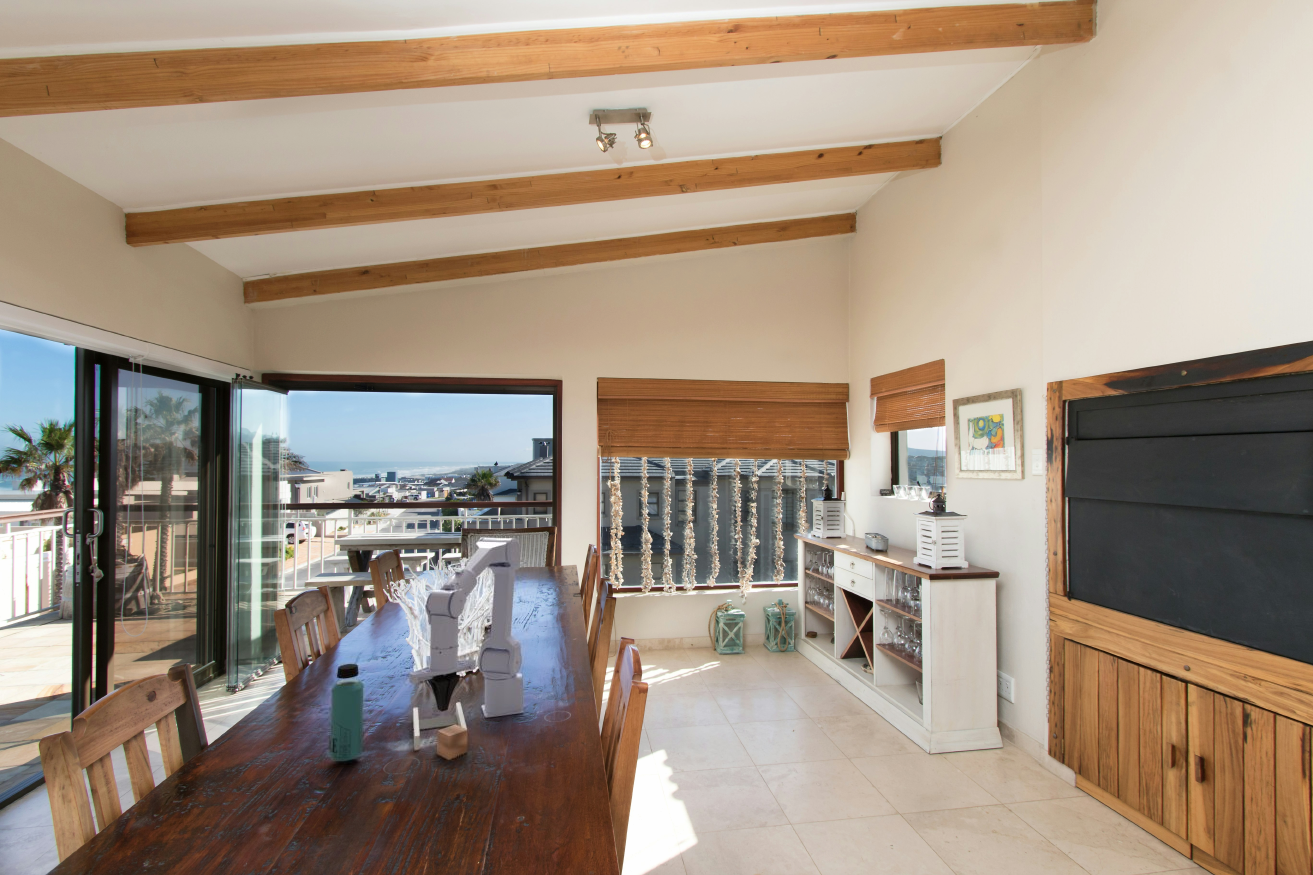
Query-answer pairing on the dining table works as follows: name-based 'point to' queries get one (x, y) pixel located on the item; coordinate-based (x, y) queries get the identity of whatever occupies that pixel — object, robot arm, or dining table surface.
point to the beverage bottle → (346, 715)
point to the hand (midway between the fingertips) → (442, 709)
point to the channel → (436, 723)
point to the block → (451, 741)
